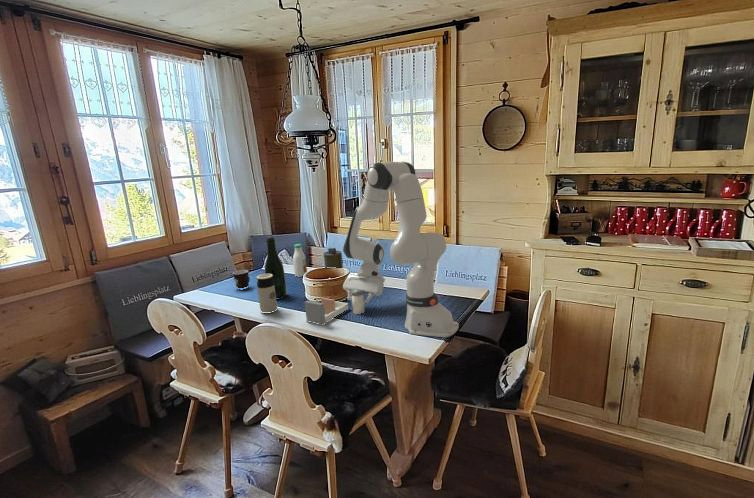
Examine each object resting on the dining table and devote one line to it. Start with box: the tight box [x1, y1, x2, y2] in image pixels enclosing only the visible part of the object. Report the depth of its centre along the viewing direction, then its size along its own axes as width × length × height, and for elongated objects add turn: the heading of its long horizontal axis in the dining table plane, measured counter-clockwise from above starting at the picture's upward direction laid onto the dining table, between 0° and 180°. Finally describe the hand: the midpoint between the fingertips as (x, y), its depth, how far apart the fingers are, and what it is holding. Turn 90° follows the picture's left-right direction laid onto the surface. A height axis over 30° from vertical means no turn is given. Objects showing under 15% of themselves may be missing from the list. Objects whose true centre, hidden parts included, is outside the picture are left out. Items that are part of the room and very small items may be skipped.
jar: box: [351, 289, 366, 315], centre depth 188 cm, size 6×6×11 cm
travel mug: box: [256, 273, 278, 312], centre depth 195 cm, size 8×8×18 cm
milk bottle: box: [292, 243, 308, 278], centre depth 251 cm, size 8×8×20 cm
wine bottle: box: [264, 235, 288, 298], centre depth 213 cm, size 10×10×33 cm
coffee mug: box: [232, 269, 251, 288], centre depth 233 cm, size 12×9×10 cm
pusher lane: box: [304, 300, 350, 325], centre depth 186 cm, size 9×20×10 cm, turn 149°
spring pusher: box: [320, 297, 335, 314], centre depth 187 cm, size 7×1×7 cm, turn 59°
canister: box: [323, 247, 344, 269], centre depth 235 cm, size 11×10×20 cm
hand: (357, 300), depth 188 cm, fingers open, 8 cm apart
